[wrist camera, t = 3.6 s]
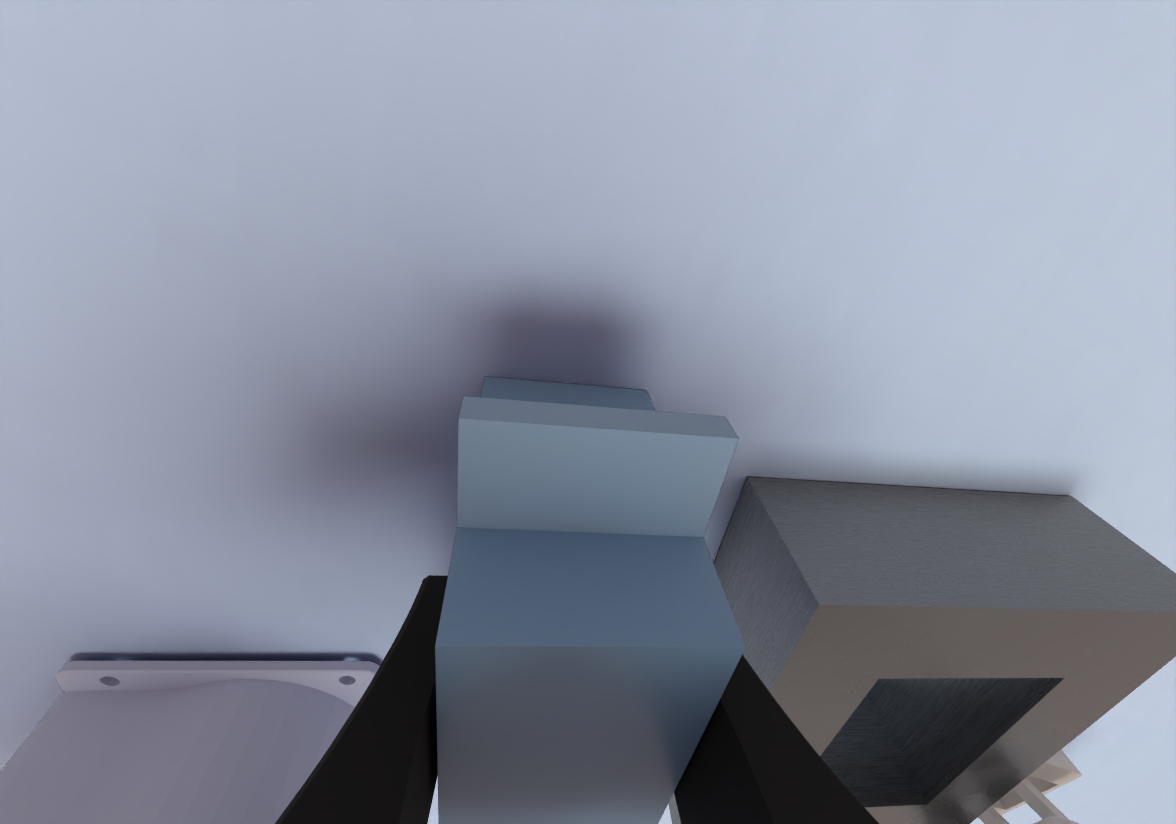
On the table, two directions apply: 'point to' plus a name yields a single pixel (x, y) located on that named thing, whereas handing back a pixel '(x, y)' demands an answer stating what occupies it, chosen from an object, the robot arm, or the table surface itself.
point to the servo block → (579, 606)
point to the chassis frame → (939, 632)
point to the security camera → (1036, 792)
